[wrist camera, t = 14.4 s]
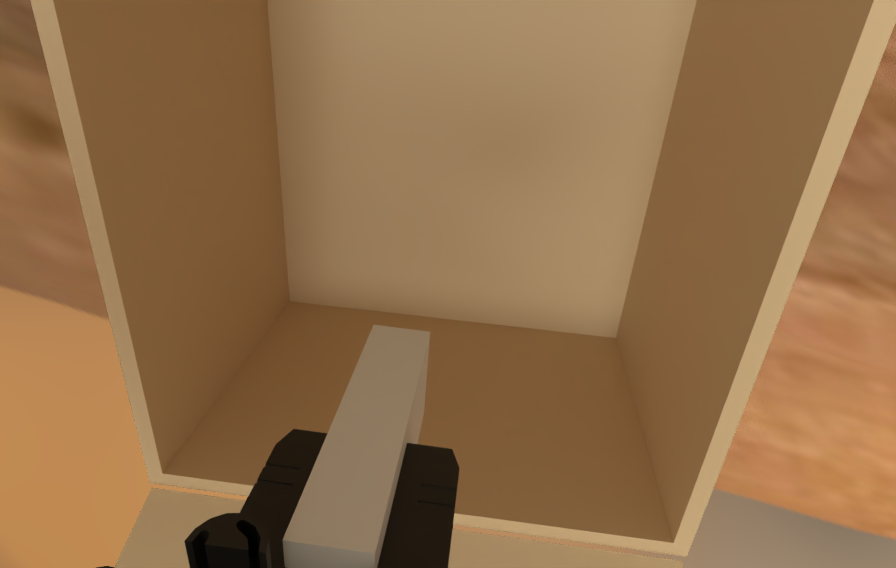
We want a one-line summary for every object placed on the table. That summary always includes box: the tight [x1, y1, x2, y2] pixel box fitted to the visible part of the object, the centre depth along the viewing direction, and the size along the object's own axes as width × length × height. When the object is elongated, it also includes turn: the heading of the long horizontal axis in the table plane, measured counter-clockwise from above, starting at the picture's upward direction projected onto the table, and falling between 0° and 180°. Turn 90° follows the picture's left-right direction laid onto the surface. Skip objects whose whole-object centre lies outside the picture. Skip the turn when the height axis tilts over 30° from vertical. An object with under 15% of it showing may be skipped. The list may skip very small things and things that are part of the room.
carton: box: [31, 0, 896, 557], centre depth 22 cm, size 24×20×14 cm
